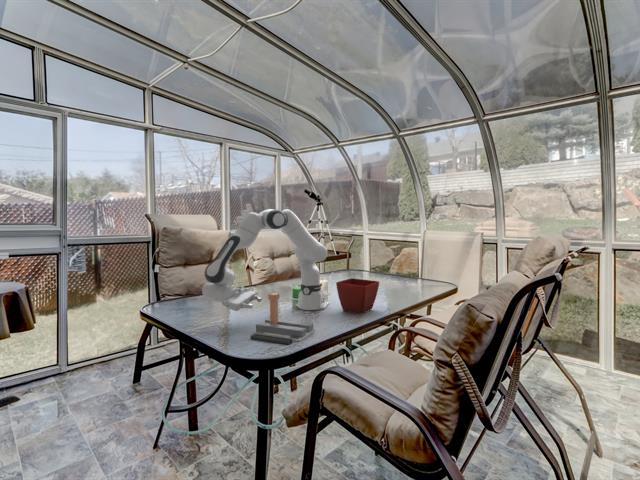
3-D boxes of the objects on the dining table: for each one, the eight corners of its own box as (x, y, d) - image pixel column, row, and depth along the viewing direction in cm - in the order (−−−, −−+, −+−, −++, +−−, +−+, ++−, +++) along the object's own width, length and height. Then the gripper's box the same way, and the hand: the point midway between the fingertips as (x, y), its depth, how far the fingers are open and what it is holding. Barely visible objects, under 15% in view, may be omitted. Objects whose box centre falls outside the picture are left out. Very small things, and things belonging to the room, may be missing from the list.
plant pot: (379, 309, 205) (380, 281, 204) (365, 316, 189) (365, 286, 188) (351, 304, 215) (351, 277, 214) (335, 311, 200) (335, 282, 199)
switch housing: (271, 324, 174) (271, 316, 174) (315, 330, 165) (315, 322, 165) (253, 334, 159) (253, 325, 159) (300, 341, 150) (300, 332, 150)
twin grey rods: (254, 336, 156) (254, 332, 156) (293, 342, 149) (293, 338, 149) (249, 339, 153) (249, 335, 153) (289, 345, 145) (289, 341, 145)
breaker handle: (272, 326, 167) (272, 292, 166) (279, 327, 165) (279, 293, 164) (268, 328, 163) (268, 294, 162) (275, 329, 162) (275, 295, 161)
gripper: (220, 297, 163) (246, 304, 159) (242, 284, 182) (266, 290, 179) (219, 310, 165) (245, 317, 161) (241, 296, 184) (265, 302, 180)
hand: (256, 303), depth 170 cm, fingers open, 8 cm apart
